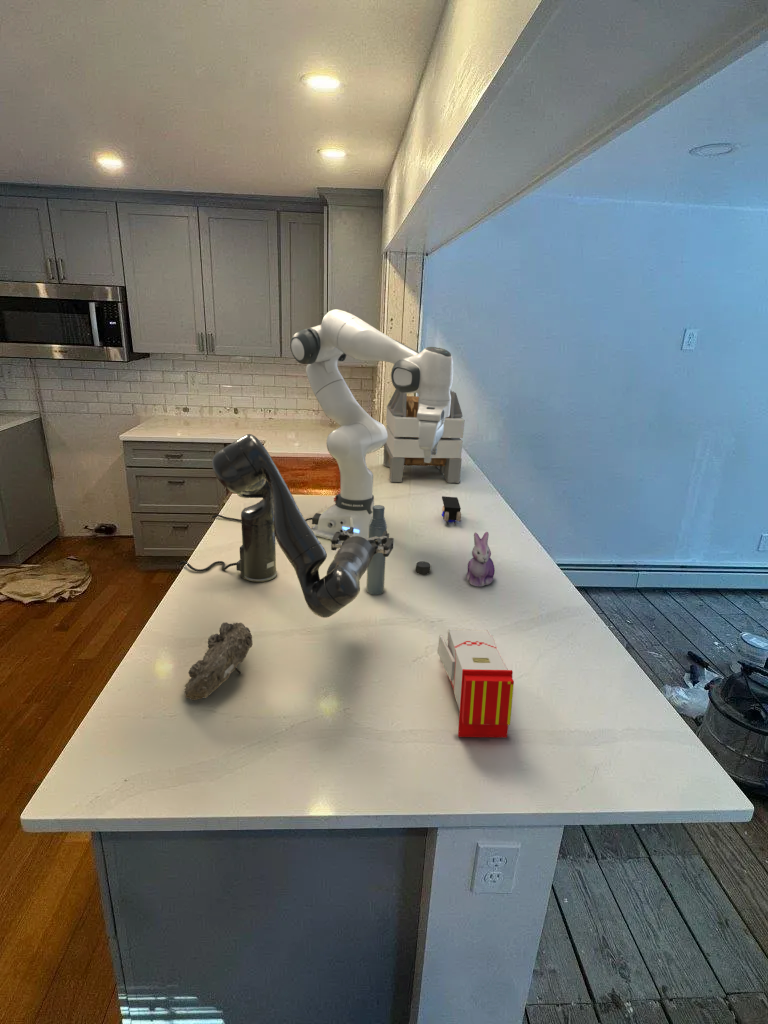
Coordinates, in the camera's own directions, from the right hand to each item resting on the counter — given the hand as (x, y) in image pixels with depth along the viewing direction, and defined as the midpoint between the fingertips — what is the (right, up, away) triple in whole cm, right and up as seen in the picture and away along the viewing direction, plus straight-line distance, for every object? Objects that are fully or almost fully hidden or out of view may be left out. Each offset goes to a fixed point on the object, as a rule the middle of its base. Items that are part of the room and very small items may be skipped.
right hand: (430, 458), depth 160 cm
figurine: (+15, -36, +8) cm, 39 cm away
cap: (-1, -31, +11) cm, 33 cm away
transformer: (+4, +4, +115) cm, 115 cm away
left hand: (-17, -20, -19) cm, 33 cm away
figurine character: (+12, -18, +55) cm, 59 cm away
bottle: (-16, -37, -1) cm, 40 cm away
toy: (+5, -53, -41) cm, 67 cm away
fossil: (-47, -50, -39) cm, 79 cm away
